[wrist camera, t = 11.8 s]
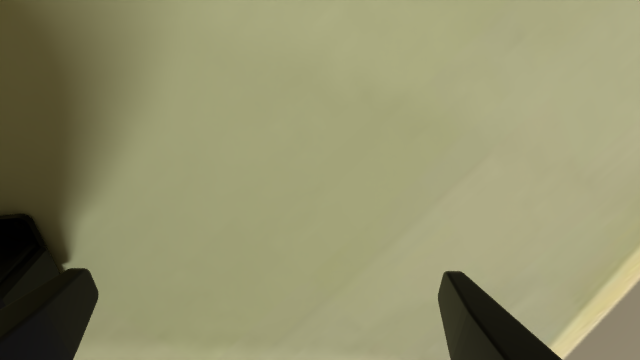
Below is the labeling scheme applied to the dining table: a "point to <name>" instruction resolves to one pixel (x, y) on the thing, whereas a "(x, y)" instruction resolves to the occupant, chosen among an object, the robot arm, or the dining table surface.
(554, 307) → the dining table surface
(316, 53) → the dining table surface
